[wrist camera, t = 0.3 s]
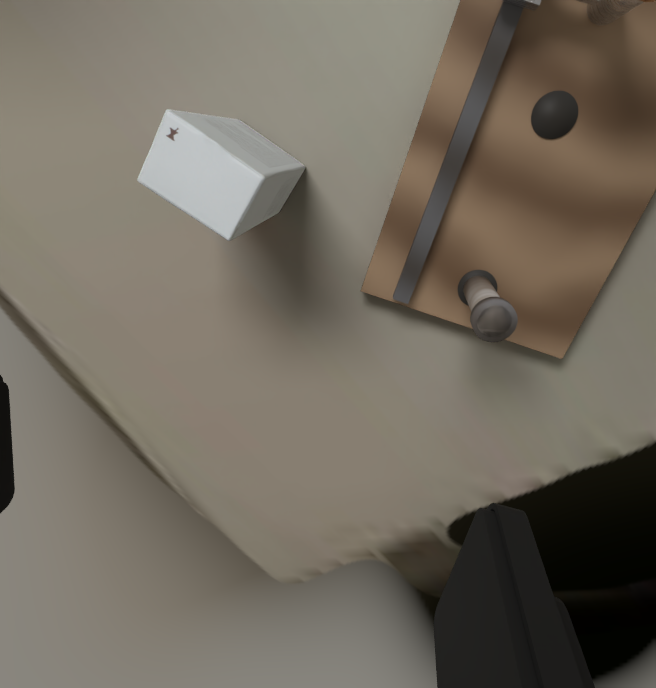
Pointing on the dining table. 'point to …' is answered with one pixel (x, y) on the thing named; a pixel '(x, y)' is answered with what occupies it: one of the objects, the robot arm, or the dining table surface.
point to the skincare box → (219, 171)
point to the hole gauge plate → (523, 171)
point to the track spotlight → (594, 8)
